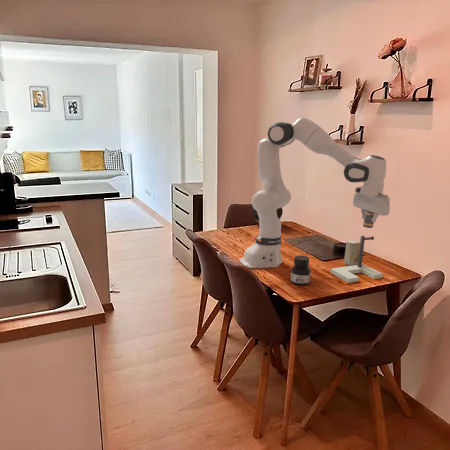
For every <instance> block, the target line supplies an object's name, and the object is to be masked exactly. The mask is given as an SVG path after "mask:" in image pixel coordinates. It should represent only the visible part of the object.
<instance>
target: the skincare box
mask: <svg viewBox="0 0 450 450" xmlns="http://www.w3.org/2000/svg"><path fill="white" fill-rule="evenodd" d="M359 248H360V241H358V240H347V241H346V244H345V252H344V261H343V264H345V265H347V266H354V265H358V257H359Z"/></svg>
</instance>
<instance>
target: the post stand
mask: <svg viewBox="0 0 450 450" xmlns="http://www.w3.org/2000/svg"><path fill="white" fill-rule="evenodd" d="M374 239H375V237H374V236H369V237H366V235H360V239H359V242H360V248H359V257H358V264H356V265H350V266H349V265H347V266H339V267H333V268H330V271H329V272H330V273H331V274H333V275H334V276H336V277H337V278H339V279H341V280H343V281H344V282H346V283H355V282H356V283H357V282H360V277H359V276H358V275H356V274H360V273H362V274H364V275H366V276H367V275H368V277H370V278H372V279H373V280H376V279H382V278H383V273H382V272H380V271H379V270H376V269H374V268H372V267H370V266H368V265H366V264H364V263H363V256H364V251H365V249H364V248H365V241H374Z"/></svg>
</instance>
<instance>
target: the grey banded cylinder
mask: <svg viewBox="0 0 450 450" xmlns="http://www.w3.org/2000/svg"><path fill="white" fill-rule="evenodd" d="M373 216H374V215H373V212H370V211H368V210H365V216H364V219H363V223H362V224H363V226H362V227H364V228H367V229H373V228H374V224H375V222H371V218H373Z"/></svg>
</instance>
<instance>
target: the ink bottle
mask: <svg viewBox="0 0 450 450" xmlns="http://www.w3.org/2000/svg"><path fill="white" fill-rule="evenodd" d="M293 260H294V261H293V266H291V270H290V282H291V283H292V284H294V285H296V286H297V285H298V286H308V285H309V284H310V283H311V274H312V273H311V272H312V269H311V268H310V267H309V265H310V257H309V256H307V255H301V254H300V255H295V256H294V259H293Z"/></svg>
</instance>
